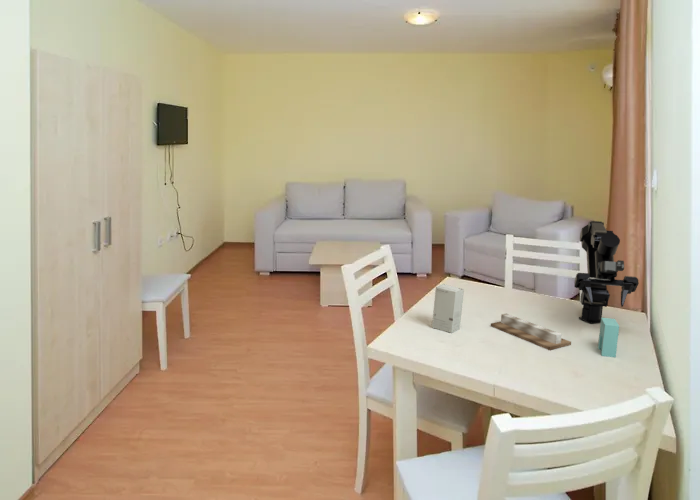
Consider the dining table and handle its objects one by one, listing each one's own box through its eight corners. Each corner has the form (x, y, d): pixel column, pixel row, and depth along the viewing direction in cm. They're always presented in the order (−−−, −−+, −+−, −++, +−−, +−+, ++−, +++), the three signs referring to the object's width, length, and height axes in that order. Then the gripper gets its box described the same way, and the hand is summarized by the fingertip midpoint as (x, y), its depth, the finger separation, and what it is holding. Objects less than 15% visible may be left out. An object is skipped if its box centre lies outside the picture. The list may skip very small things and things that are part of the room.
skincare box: (431, 328, 205) (433, 286, 202) (440, 323, 209) (443, 283, 206) (452, 333, 200) (455, 291, 197) (461, 329, 204) (464, 287, 201)
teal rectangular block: (597, 347, 189) (601, 317, 187) (611, 348, 188) (614, 318, 186) (601, 355, 182) (605, 324, 180) (615, 357, 181) (619, 326, 179)
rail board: (490, 326, 208) (491, 315, 207) (511, 321, 213) (511, 311, 212) (549, 350, 186) (550, 338, 185) (571, 344, 191) (572, 333, 190)
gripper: (578, 248, 194) (580, 290, 185) (640, 252, 189) (644, 295, 181) (573, 266, 203) (574, 307, 195) (632, 271, 198) (636, 312, 190)
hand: (606, 305), depth 190 cm, fingers open, 9 cm apart
